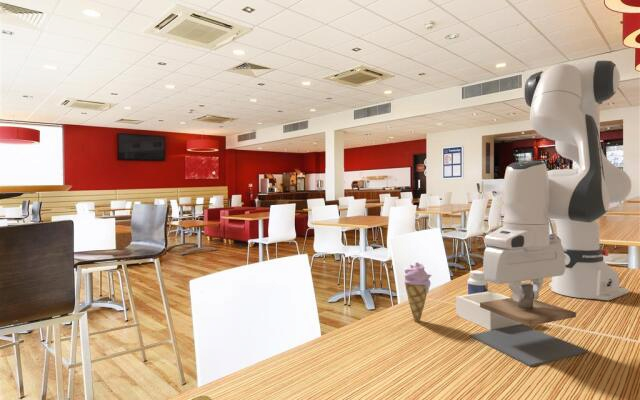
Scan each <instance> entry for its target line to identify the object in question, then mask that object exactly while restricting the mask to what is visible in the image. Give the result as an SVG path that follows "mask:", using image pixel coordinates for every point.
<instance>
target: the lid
mask: <svg viewBox="0 0 640 400" xmlns="http://www.w3.org/2000/svg"><path fill="white" fill-rule="evenodd" d="M519 288H520V290H521V292H522V293H524V301H520V302H517V301H514V300H513V297H510V298H507V299H501V300H494V301H488V302H481V303H480V307H481V308H483V309H486V310H489V311H491V312H494V313H496V314H499V315H502V316H504V317H507V318H509V319H512V320H515V321H517V322H520V323H522V324H521V325H525V326H527V327H533V326H536V325H537V326H538V325H543V324H548V323H554V322H559V321H564V320H569V319H573V318H576V317H577V312H576V311H572V310H571V309H570V310H569V309H566V308H564V307H563V308H562V307H559V306H557V305H553V304H550V303H546V302H543V301H541V300H537V299H533V285H532V284H531V283H528V282H521V286H519Z"/></svg>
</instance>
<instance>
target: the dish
mask: <svg viewBox="0 0 640 400" xmlns="http://www.w3.org/2000/svg"><path fill="white" fill-rule="evenodd" d="M507 298H511V297H510V296H507V295H503V294H500V293H498V292H495V291H491V290H489V291H488V292H482V293H475V294H468V293H467V294H463V295H457V296H456V295H455V315H456V316H458V317H460V318H463V319H465V320H467V321H469V322H471V323H474V324H476V325H478V326H480V327H482V328H485V329H487V330H488V331H492V330H497V329H502V328H507V327H512V326H517V325H523V324H522V323H520V322H517V321H515V320H512V319H509V318H507V317H504V316H502V315H499V314H496V313H494V312H491V311H489V310H486V309H483V308H481V307H480V303H481V302H488V301H494V300H501V299H507Z"/></svg>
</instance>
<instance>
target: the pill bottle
mask: <svg viewBox="0 0 640 400" xmlns="http://www.w3.org/2000/svg"><path fill="white" fill-rule="evenodd" d="M466 284H467V295H468V294H475V293H482V292H488V290H489V289H488V286H489V285H488V284H489V282H488V281H487V280H486V279H485V277H484V274H483V270H475V269H474V270H470V271H469V278H467V283H466Z"/></svg>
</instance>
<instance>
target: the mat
mask: <svg viewBox="0 0 640 400" xmlns="http://www.w3.org/2000/svg"><path fill="white" fill-rule="evenodd" d="M469 336H470V337H471V338H472V339H475V340H477V341H478V342H480V343H482V344H484V345H486V346H488V347H490V348H492V349H494V350H496V351H498V352H500V353H502V354H504V355H506V356H508V357H510V358H512V359H513V360H516V361H517V362H520V363H522V364H524V365H526V366H528V367H535V366H539V365H543V364H546V363H547V364H548V363H550V362H555V361H558V360H563V359H567V358H570V357H574V356H578V355H583V354H586V353H589V350H587V349H585V348H583V347H580V346H578V345H576V344H573V343H570V342H568V341H565V340H564V339H560V338H558V337H555V336H553V335H550V334H547V333H545V332H543V331H540V330H537V329H535V328H532V327H531V326H527V325H525V324H520V325H515V326H510V327H505V328H500V329H494V330H487V331H482V332H477V333H471V334H469ZM582 353H583V354H582Z"/></svg>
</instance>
